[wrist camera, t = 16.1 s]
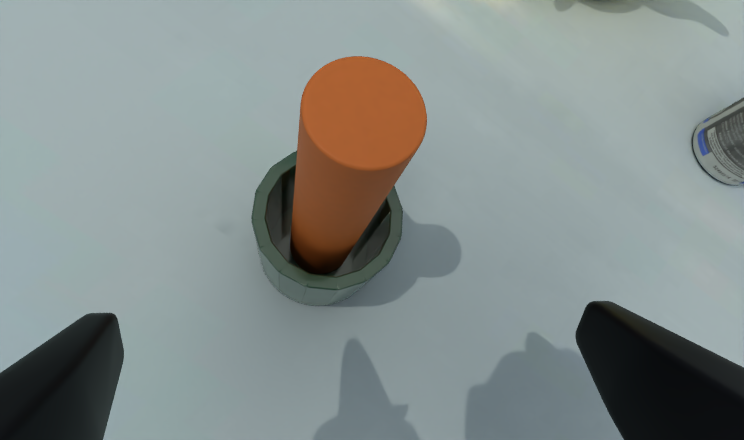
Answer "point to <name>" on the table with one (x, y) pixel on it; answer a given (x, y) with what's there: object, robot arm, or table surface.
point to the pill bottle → (722, 144)
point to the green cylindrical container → (275, 238)
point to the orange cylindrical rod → (350, 154)
